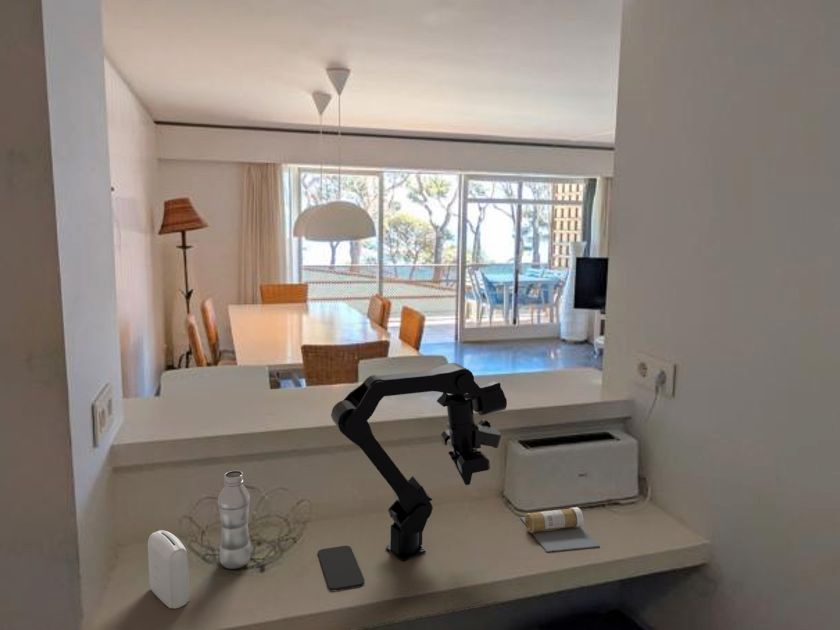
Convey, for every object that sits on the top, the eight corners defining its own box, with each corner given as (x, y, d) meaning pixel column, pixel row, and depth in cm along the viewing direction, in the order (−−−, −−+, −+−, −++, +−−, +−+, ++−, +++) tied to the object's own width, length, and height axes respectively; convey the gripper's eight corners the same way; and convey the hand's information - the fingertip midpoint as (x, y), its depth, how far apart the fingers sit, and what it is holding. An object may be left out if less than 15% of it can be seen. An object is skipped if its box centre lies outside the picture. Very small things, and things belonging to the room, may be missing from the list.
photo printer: (146, 588, 115) (143, 529, 113) (168, 579, 119) (166, 521, 117) (170, 613, 108) (167, 550, 107) (192, 602, 112) (190, 541, 110)
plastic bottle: (257, 558, 127) (256, 469, 124) (240, 576, 120) (238, 483, 117) (231, 553, 128) (229, 465, 125) (212, 570, 122) (209, 478, 119)
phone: (350, 544, 132) (366, 582, 118) (350, 548, 133) (366, 586, 119) (316, 549, 130) (329, 589, 116) (316, 553, 130) (329, 593, 116)
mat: (546, 552, 132) (546, 551, 132) (519, 517, 148) (519, 516, 148) (599, 546, 135) (599, 545, 135) (567, 513, 150) (567, 512, 150)
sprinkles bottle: (527, 535, 141) (578, 529, 144) (534, 529, 137) (586, 523, 140) (522, 516, 143) (572, 510, 147) (528, 510, 140) (580, 504, 143)
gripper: (510, 428, 124) (515, 496, 127) (482, 400, 142) (488, 460, 145) (459, 438, 122) (465, 507, 125) (437, 408, 140) (444, 469, 143)
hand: (467, 484), depth 134 cm, fingers closed
